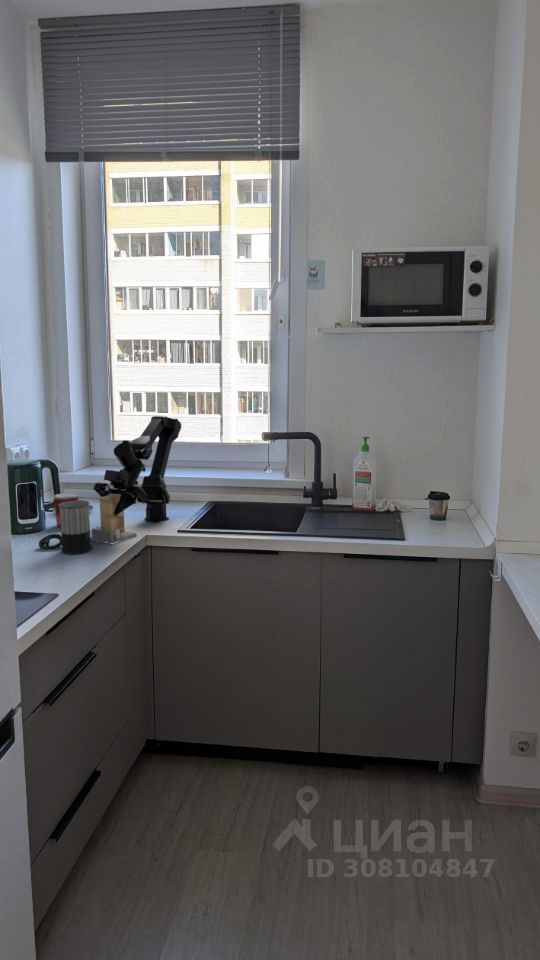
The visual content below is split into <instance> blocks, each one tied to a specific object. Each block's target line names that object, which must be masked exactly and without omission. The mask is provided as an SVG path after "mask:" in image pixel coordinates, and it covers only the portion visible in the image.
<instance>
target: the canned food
mask: <svg viewBox="0 0 540 960" xmlns="http://www.w3.org/2000/svg"><path fill="white" fill-rule="evenodd" d="M75 500H79V494H77V493H75V492H64V493H59V494H58V493H57V494H55V495H54V508H55V519H56V520H55V522H56V526H57V528H58V529H61V521H60V507H59V506H58V505H59V504H60V503H62V502H67V501H75Z"/></svg>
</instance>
